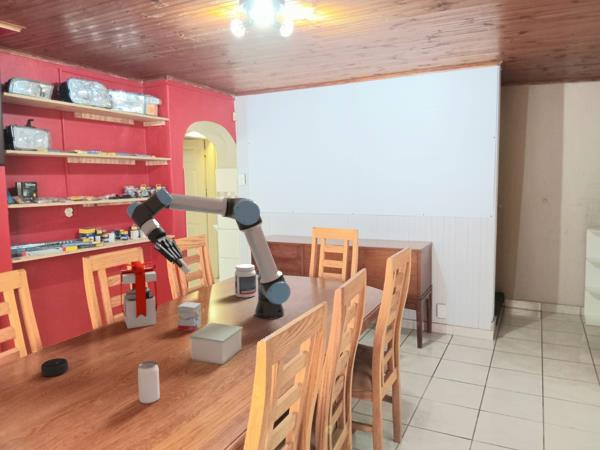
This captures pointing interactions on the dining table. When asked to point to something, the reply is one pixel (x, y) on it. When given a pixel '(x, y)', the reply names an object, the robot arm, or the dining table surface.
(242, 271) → the supplement tub
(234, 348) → the storage box
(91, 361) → the dining table surface
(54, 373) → the smart speaker
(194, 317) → the ink box
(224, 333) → the lid
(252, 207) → the robot arm
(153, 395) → the can
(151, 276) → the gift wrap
